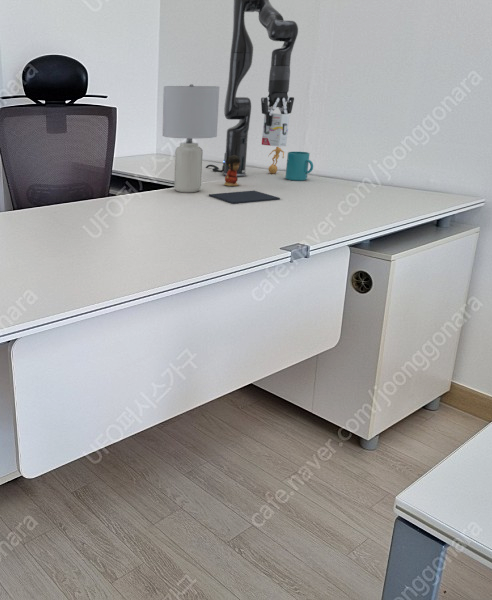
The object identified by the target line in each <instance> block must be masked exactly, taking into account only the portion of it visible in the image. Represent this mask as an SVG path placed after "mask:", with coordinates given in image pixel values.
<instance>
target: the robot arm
mask: <svg viewBox="0 0 492 600" xmlns="http://www.w3.org/2000/svg"><path fill="white" fill-rule="evenodd" d="M232 5H233V9H232V15H233V16H232V37H231V47H230V55H229V67H228V79H227V80H228V81H227V87H226V94H225V99H224V109H223V110H224V111H223V112H224V117H225V119H226V120H229V121H232V120H233V121H235V120H237V121H238V122H237V124H235V125H233V126H231V127H228V128H227V129H226V138H225V152H224V159H223V162H222V167H221V168H222V169H221V170H220V168H219V167H218V166H217V165H214V164H207V165H206V166H205V169H208V168H210V167H211V168H212V171H213V172H215V173H223V176H226V175H227V172H228V171H229V169H230V167H229V166H228V165H227V164H226V160H227V157H229V156H233V155H235V156H238V157H239V159H240V161H241V163H240V165H239V168H238V170H236V171H237V178H238V177H239V178H240V177H245V176H246V171H247V170H246V165H247V155H248V154H247V153H248V139H249V130H250V122H251V114H252V113H251V112H252V100H251V99H250V98H249V97H248V96H237V92H238V89H239V87H240V85H241V83H242V81H243V79H244V78H245V76H246V75H247V74H248V72H249V71H250V69H251V68H252V65H253V57H254V44H253V41H252V39H251V37H250V35H249V32H248V31H247V28H246V21H245V13H257V14H258V22H259V23H260V24H261V26H262V27H263V28H264V29H265V30H266V33H267V36H268V39H270V40H271V41H272V42H281V43H282V46H281V47H279V48H275V49H273V50H272V52H271V58H270V69H269V75H268V76H269V77H268V89H267V92H268V95H267V96H265V97H261V98H260V103H261V104H260V105H261V114H262V115H266V124H267V126H271V125H272V116H271V115H272V113H274V111H275V110H276V109H277V108H278V110H279V113H280V114H288V115H290V114H292V111H293V106H294V102H295V97H293V96H289V95H288V93H289V91H290V80H291V79H290V78H291V59H292V58H291V57H292V53H293V50H294V46H295V43H296V40H297V38H298V35H299V26H298V23H297V22H296V21H294V20H284V17H283V15H282V14H281V12H279V10H277V9H276V8H274V6H273V5H272V4H271V2H270V0H233V4H232Z"/></svg>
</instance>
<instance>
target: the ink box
mask: <svg viewBox="0 0 492 600" xmlns="http://www.w3.org/2000/svg"><path fill="white" fill-rule="evenodd" d="M263 115H264V117H263V127H262V137H261V145H262V146H270V147H277V146H278V147H286V146H287V140H288V131H289V123H290V114H281V113H274V112H273V113H272V115H271V116H272V125H271V126H267V124H266V115H265V114H263Z"/></svg>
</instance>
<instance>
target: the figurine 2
mask: <svg viewBox="0 0 492 600" xmlns="http://www.w3.org/2000/svg"><path fill="white" fill-rule="evenodd" d="M275 147H276V148H275V149H273V150H272V151H271V152H270V153H269V154H268V158H269V157H270V155H272V154H273V152H275V154H273V157H272V158H271V159H272V164H270V165H269V166H268V169H267V170H268V172H269V173H270V174H272V175H273V174H276V173H277V171H278V166H277V164H278V160H279V158H280V153H282V159H284V158H285V152H284V151H283V149H282V148H281V147H280V146H275Z"/></svg>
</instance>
